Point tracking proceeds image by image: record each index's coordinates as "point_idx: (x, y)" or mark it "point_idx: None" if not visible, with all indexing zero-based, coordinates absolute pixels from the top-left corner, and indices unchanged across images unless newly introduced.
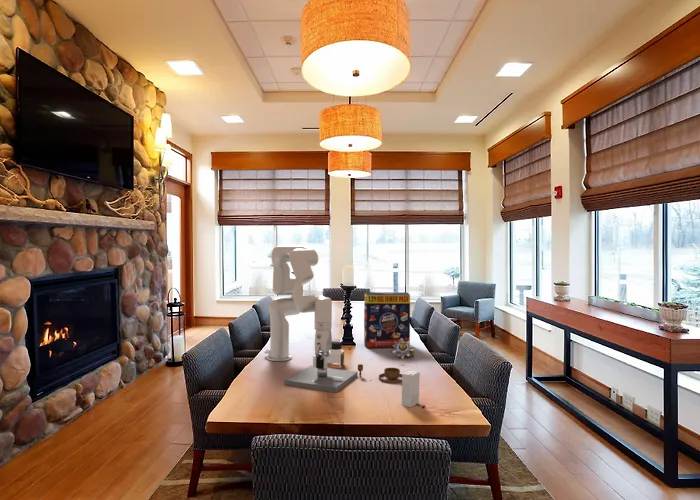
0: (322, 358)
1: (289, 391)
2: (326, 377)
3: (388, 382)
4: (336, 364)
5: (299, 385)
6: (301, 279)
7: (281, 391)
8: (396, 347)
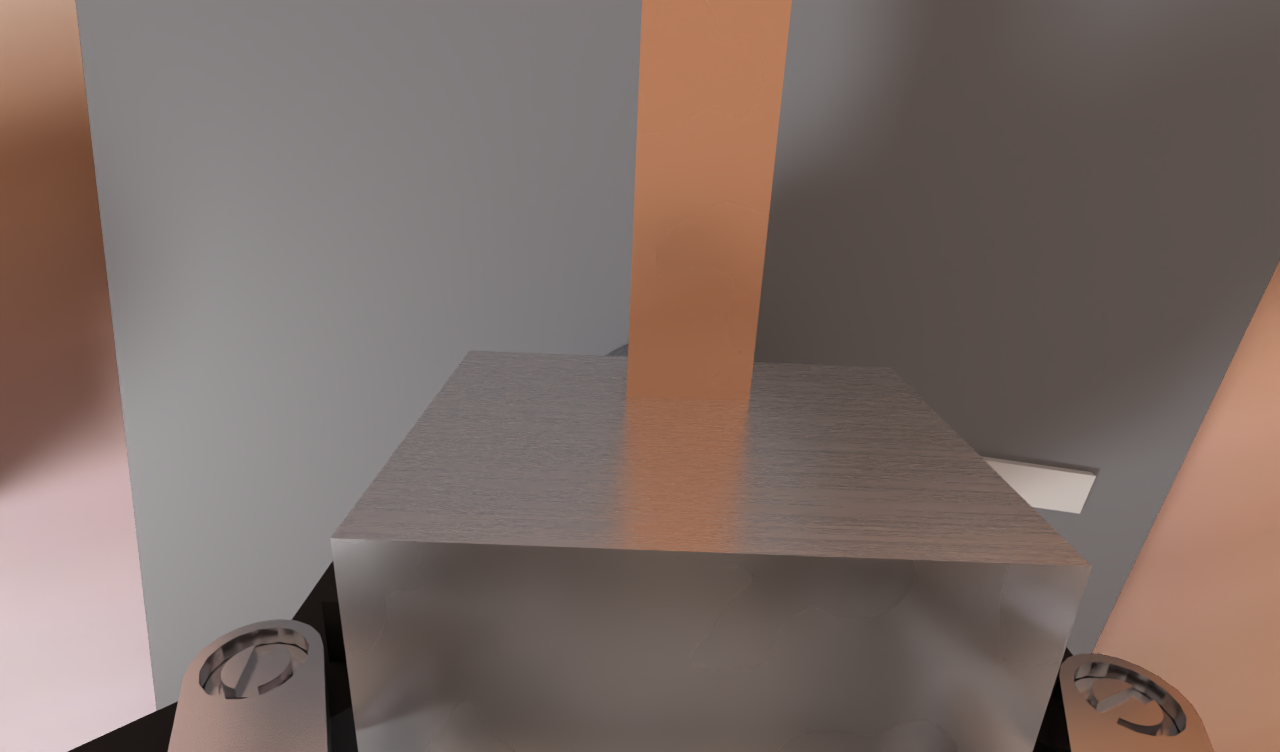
0: (1071, 683)
1: (1243, 661)
2: None
3: None
4: (776, 106)
5: None
6: None
7: (1241, 741)
8: None
